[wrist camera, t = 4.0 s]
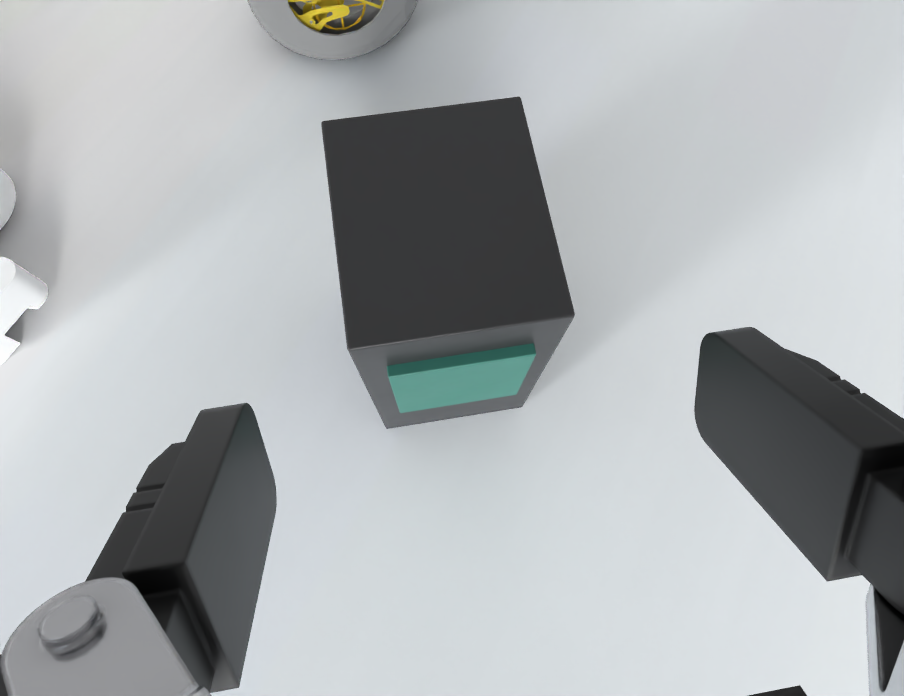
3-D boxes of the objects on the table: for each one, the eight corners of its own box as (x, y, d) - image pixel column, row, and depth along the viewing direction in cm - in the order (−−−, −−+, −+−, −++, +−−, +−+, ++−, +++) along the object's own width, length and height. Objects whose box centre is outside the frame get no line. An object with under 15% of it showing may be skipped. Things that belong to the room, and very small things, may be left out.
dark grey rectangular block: (524, 415, 21) (579, 328, 13) (387, 437, 21) (348, 363, 12) (492, 260, 23) (520, 95, 15) (366, 278, 23) (320, 120, 14)
